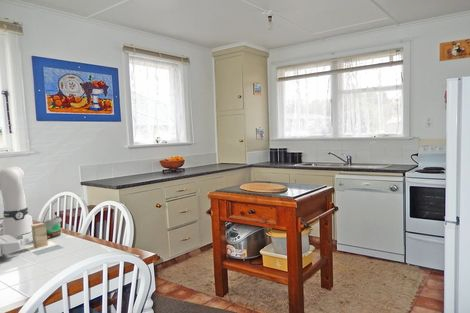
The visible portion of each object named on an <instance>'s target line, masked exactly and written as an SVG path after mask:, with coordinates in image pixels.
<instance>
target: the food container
mask: <svg viewBox="0 0 470 313" xmlns="http://www.w3.org/2000/svg"><path fill="white" fill-rule="evenodd" d="M62 221H63V220H62V218H61V216H59V215H56V216H55V218H51V219H48V220H46V221H41V222H40V223H44V224H46V232H47V240H49V239H55V238H58V237H60V236H61V230H62V228H61V222H62Z"/></svg>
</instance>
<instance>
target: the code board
mask: <svg viewBox="0 0 470 313" xmlns="http://www.w3.org/2000/svg"><path fill="white" fill-rule="evenodd" d="M47 241H48V240H47ZM24 249H26V250H27V251H29V252H31V253H33V254H34V255H36V256H40V255H44V254H47V253H50V252H54V251H59V250H61V249H65V247H64V246H62V245H59V244H57V243H55V242H54V241H51V240H49V241H48V245H47V246H44V247H40V248H36V247H34V245H30V246H26V247H24Z"/></svg>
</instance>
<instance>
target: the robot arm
mask: <svg viewBox="0 0 470 313" xmlns="http://www.w3.org/2000/svg"><path fill="white" fill-rule="evenodd" d="M24 179H25V172H24V170H23V168H21V167H19V166H18V165H17V166H16V165H11V166H8V167H4V168H1V169H0V193H1V197H2V204H3V219H2V222H1V223H0V257H2V256H3V255H7V254H10V253H13V252H17V251H19V250H21V249H22V246H23V245H26V244H28V243H30V238H24V236H23V235H25V234H28V233H32V228H31V225H34V222H33V219H32V218H33V217H32V215H30V214H29V209H28V206H27V199H26V198H27V197H26V193H25V189H24V183H23V181H24Z"/></svg>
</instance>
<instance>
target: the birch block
mask: <svg viewBox="0 0 470 313" xmlns="http://www.w3.org/2000/svg"><path fill="white" fill-rule="evenodd" d="M31 228H32V231H31V233H32V234H31V235H32V243H33V245H34V247H36V248H40V247H44V246H47V245H48V239H47V232H46V224H44V223H41V222H39V223H33V225H31Z"/></svg>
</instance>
